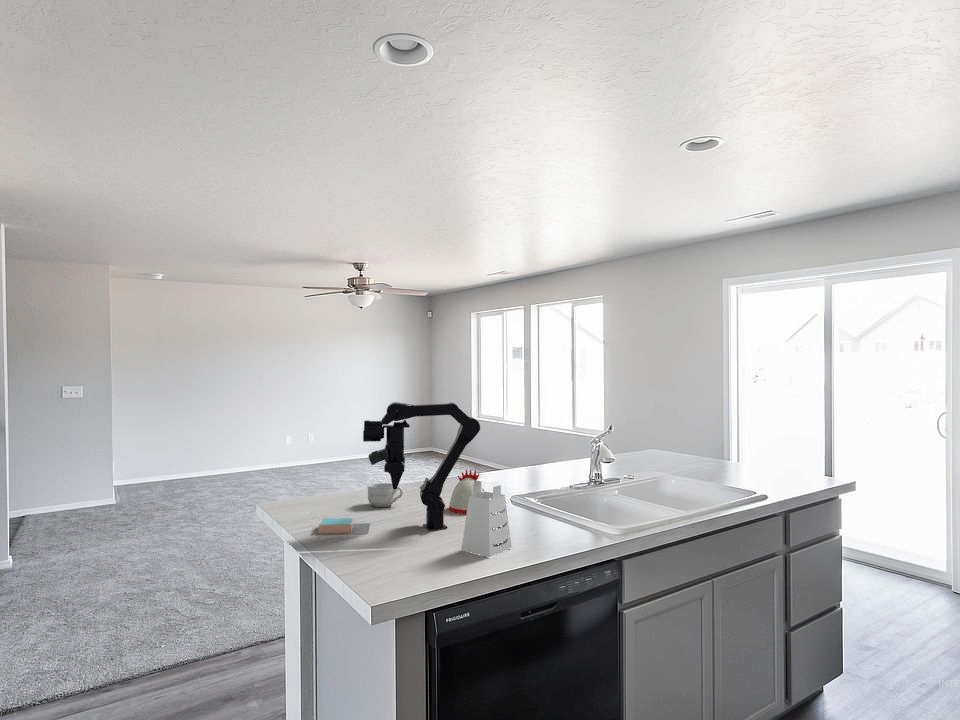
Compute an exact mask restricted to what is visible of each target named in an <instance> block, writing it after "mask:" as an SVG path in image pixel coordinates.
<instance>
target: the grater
mask: <svg viewBox="0 0 960 720" xmlns="http://www.w3.org/2000/svg"><path fill="white" fill-rule="evenodd" d="M482 483H487V484H490V485H491V486H492V492H491V491H484V492H481V487H482ZM465 515H466V516H465V523H464V530H463V537H462V541H461V542H462V543H461V549H460V550H461V551H462V550H464V551H463V552H466V551H468V552H467V553H469V552H472V553H471V554H473V553H476V554H480V555H483V556H487V557H491V556H493V555H495V554H498V553H501V552H503V551H505V550H507V549H509V548H511V547H512V539H511V533H510V525H509V517H508V510H507V502H506V496H505V494H502V485H501V483H500V481H499V480H496V479H495V480H494V479H488V478H480V479H477V480H476V481H475V482H474V483H473V495H470V496H469V501H468V508H467V514H465ZM496 544H499V545H500V546H499V545H496ZM495 545H496V546H495ZM512 548H513V547H512ZM503 553H504V552H503ZM476 554H475V555H476ZM501 554H502V553H501ZM480 555H479V556H480ZM483 556H482V557H483ZM487 557H486V558H487Z"/></svg>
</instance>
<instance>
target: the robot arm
mask: <svg viewBox="0 0 960 720" xmlns="http://www.w3.org/2000/svg"><path fill="white" fill-rule="evenodd" d="M433 416H451V417H452V418H453V420H455V421H456V422H458V424H459V427H458V430H457V433H456V437H455V439H454V440H453V443H452V444H451V446H450V448H449V449H448V451H447V453H446V454H445V456H444V458H443V460H442V461H441V463H440V465H439V467H438V468H437V469H436V471H435V473H434V475H432V476H431V477H430V478H428V477H425V478H424V482H423V483H422V485H420V486H419V489H420V491H419V496H420V500H421V503H422V504H423V505H424V506H426V508H425V509H426V510H425V511H426V514H425V515H426V519H425V520H426V522H425V523H423V524H422V527H423V528H425V529H426V530H428V531H436V530H437V531H438V530H444V529H445V530H446V529H448V525H446V524H445V523H444V522H445V519H444V517H445V512H444V511H445V508H446V504H445V502H444V500H443V498H442V497H441V495H442V492H443V489H444V485H445V482H446V480H447V478H448V477H449V475H450V473H451V472H452V471H453V468H454V467H455V465H456V463H457V462H458V460H459V459H460V457H461V455H462V453H463V452H464V450H465V448H466V447H467V446H468V445H469V444H470V443H471V442H472V441H473V440H474V438H476V436H477V435H478V434H479V433H480V430H481V424H480V422H479V421H478V420H477V419H476V418H475V417H472V416H468V414H466V413H465V412H464V411H463V410H462V409H460V408H459V406H458V405H457V403H454V402H448V403H431V404H426V403H425V404H411V403H405V402H396V401H394V402H391V403H390V404H389V405H388V406H387V408H386V413H385V415H384V416H383V417H382V418H381V420H368V419H367V420H364V421H363V430H362V431H363V432H362V433H363V434H362V441H363V442H364V443H365V442H366V443H367V442H370V443H371V442H372V443H373V442H382V440H383V439H385V437H386V440H385V441H386V443H385V445H384V448H382V449H379V450H374V451H372V452H370V453H369V454H368V459H369V462H370V465H371V466H373V465H376V464H377V463H380V462H382V461H384V462H385V463H384V467H383V468H384V471H383V472H384V473H388V474H389V476H390V480H391V484H392V486H393V489H397V487H399V484H400V481H401V479H402V476H403V473H404V472H405V465H406V464H405V462H406V457H405V428H406V429H407V428H411V426H410V424H409V423H408V422H407V419H411V418H416V417H433ZM392 422H393V424H391V423H392ZM385 430H386V432H385ZM385 434H386V435H385ZM397 490H398V489H397Z"/></svg>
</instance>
